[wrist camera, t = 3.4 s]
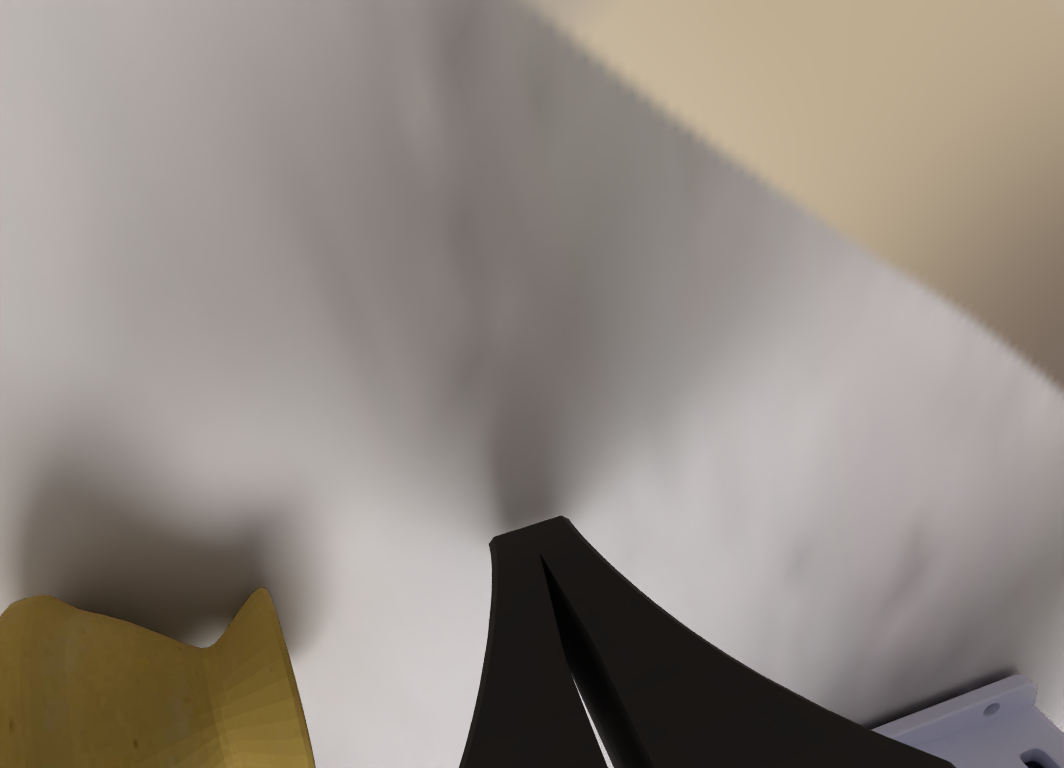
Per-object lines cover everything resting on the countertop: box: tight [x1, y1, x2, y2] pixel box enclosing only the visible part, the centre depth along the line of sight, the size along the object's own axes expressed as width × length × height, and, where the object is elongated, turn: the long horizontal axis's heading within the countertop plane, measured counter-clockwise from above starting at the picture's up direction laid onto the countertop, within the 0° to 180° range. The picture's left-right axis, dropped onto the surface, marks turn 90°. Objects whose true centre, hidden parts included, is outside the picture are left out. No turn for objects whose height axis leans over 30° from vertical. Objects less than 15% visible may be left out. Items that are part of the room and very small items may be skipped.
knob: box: [0, 587, 316, 768], centre depth 10 cm, size 5×5×5 cm
